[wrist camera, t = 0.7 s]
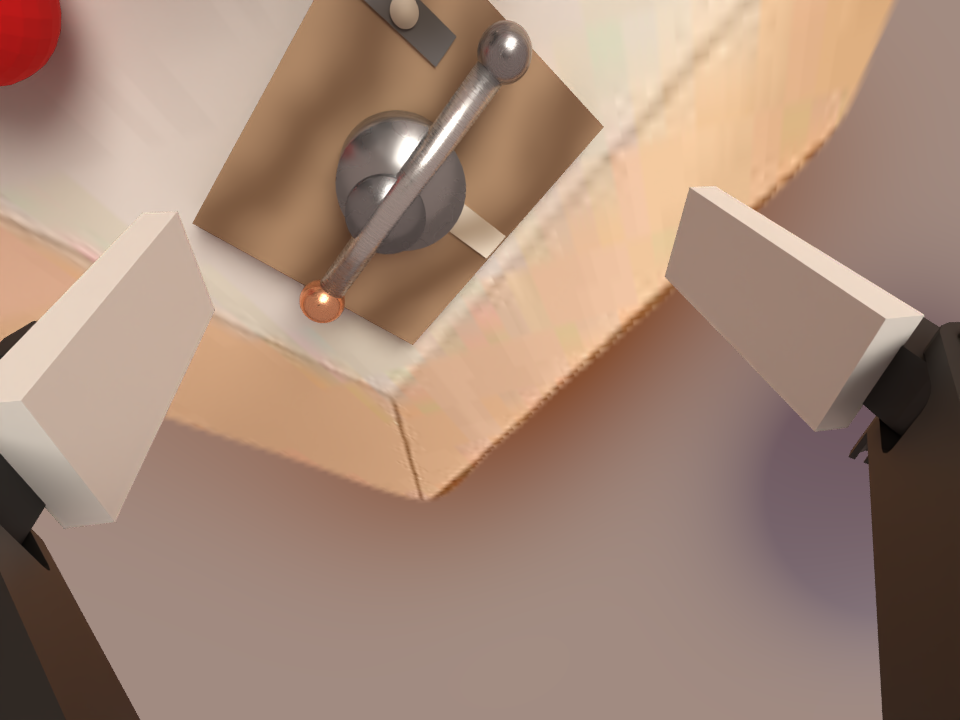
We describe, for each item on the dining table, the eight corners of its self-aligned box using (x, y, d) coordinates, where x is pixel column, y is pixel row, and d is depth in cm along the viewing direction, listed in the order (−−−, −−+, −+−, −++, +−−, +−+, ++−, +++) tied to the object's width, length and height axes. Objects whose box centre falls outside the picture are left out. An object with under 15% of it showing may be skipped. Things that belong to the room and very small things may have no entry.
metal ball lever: (457, -34, 26) (470, -36, 23) (555, 74, 30) (580, 87, 27) (264, 265, 35) (251, 298, 31) (361, 318, 39) (360, 354, 35)
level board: (200, 212, 34) (190, 225, 32) (378, -114, 26) (378, -121, 24) (411, 331, 43) (412, 347, 41) (593, 120, 35) (605, 128, 33)
